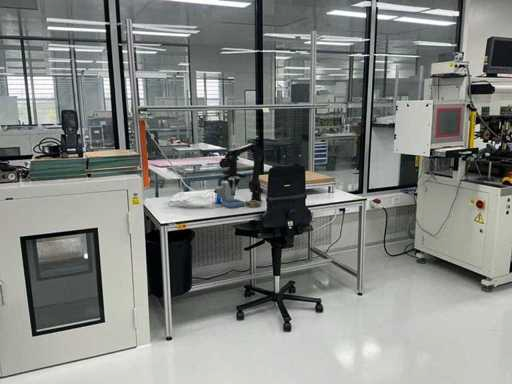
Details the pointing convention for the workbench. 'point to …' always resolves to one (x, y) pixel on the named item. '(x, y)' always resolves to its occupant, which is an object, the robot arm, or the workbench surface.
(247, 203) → the hole block
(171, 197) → the workbench surface
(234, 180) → the pin
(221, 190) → the circuit breaker
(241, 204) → the tray
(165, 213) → the workbench surface
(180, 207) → the workbench surface
